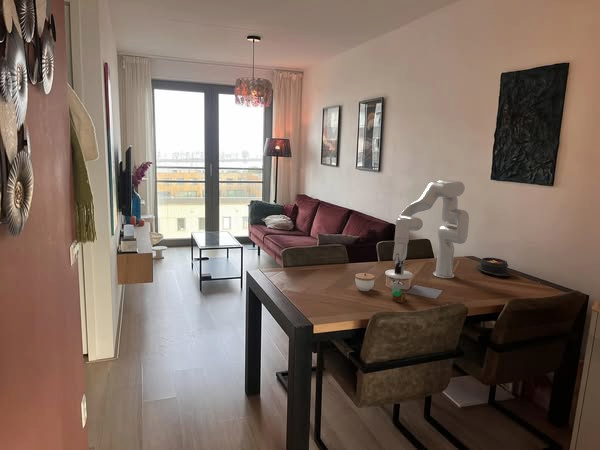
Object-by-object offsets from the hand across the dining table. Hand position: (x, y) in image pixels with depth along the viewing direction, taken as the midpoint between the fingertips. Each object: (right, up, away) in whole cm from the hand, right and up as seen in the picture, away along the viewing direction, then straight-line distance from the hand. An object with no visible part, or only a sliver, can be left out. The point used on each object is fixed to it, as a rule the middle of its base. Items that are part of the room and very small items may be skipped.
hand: (399, 271), depth 242 cm
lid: (0, -2, 0) cm, 2 cm away
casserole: (+69, -5, +38) cm, 79 cm away
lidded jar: (-20, -9, -4) cm, 23 cm away
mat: (+12, -11, -6) cm, 17 cm away
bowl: (0, -9, +2) cm, 9 cm away
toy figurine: (-6, -13, -19) cm, 24 cm away
